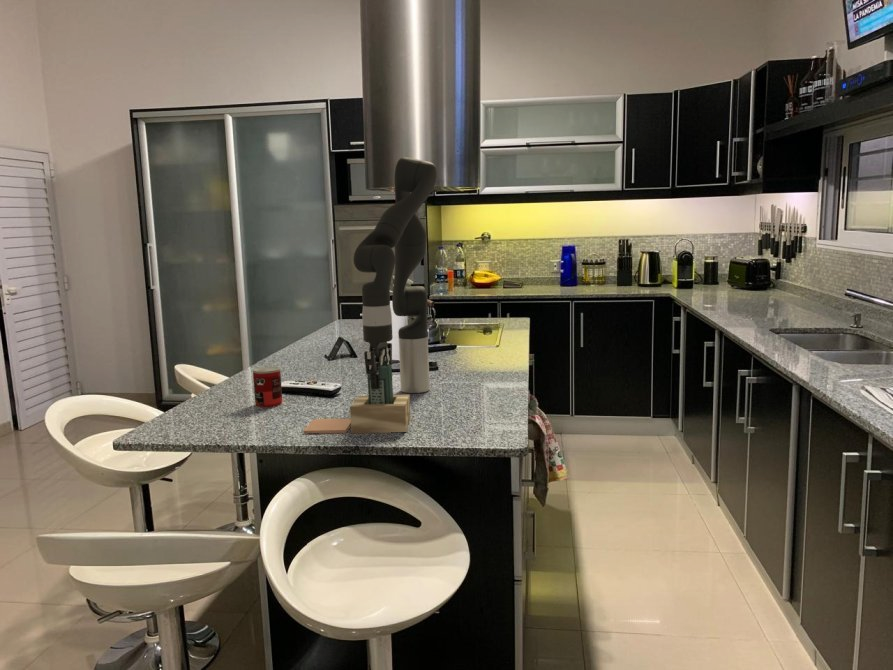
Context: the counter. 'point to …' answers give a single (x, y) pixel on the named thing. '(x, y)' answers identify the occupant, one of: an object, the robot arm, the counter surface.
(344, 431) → the plate
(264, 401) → the canned food
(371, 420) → the bore block
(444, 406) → the counter surface
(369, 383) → the can
